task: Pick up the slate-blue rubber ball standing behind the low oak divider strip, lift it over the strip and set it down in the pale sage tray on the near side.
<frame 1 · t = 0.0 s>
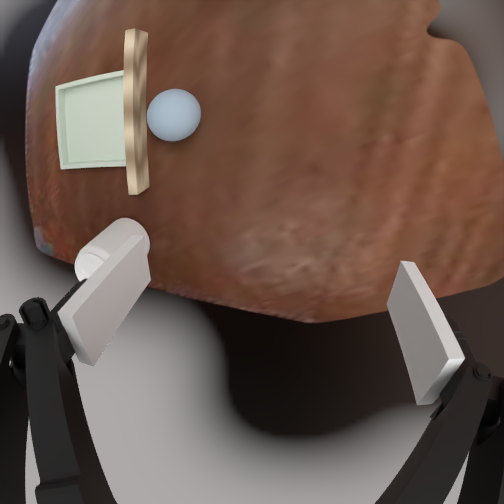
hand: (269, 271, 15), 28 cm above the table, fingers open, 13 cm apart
ball: (183, 113, 37), on the table
divider: (141, 109, 38), on the table
tray: (96, 120, 39), on the table
beverage can: (131, 237, 48), on the table
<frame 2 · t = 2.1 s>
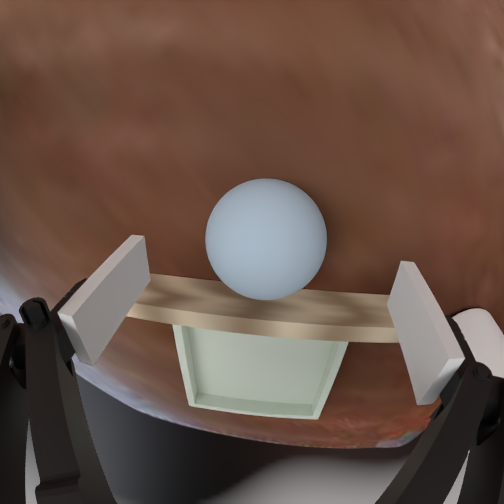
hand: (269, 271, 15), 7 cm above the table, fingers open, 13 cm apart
ball: (269, 216, 21), on the table
divider: (251, 292, 24), on the table
tray: (258, 362, 28), on the table
beverage can: (457, 334, 24), on the table
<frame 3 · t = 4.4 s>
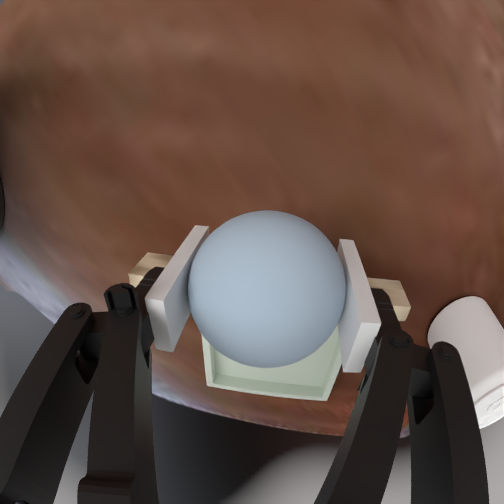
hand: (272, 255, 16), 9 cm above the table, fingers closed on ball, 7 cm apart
ball: (272, 252, 16), point 8 cm above the table, touching gripper
divider: (271, 274, 27), on the table
tray: (274, 342, 31), on the table
beverage can: (456, 321, 27), on the table
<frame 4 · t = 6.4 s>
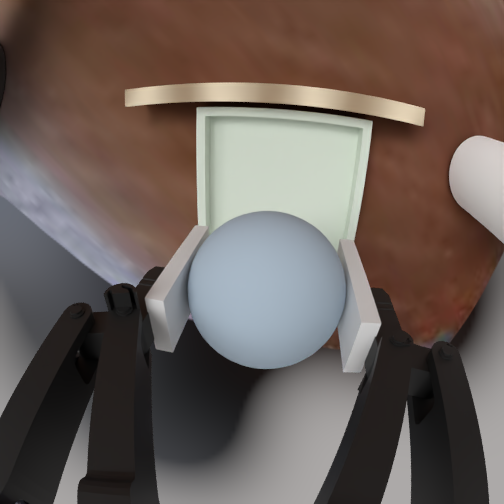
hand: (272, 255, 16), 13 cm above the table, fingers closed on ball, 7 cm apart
ball: (272, 252, 16), point 12 cm above the table, touching gripper
divider: (274, 94, 23), on the table
tray: (280, 187, 27), on the table
beverage can: (475, 172, 23), on the table
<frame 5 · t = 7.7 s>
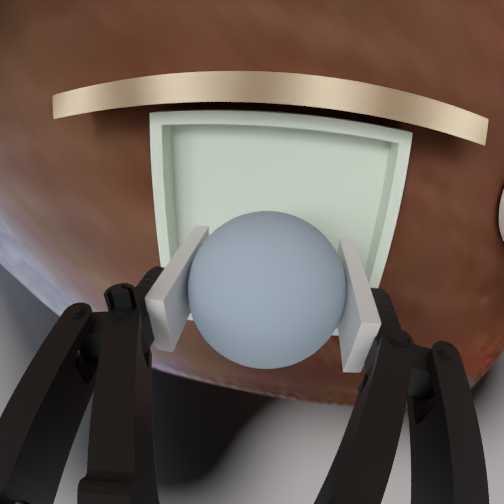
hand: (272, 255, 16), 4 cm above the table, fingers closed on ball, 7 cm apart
ball: (272, 252, 16), point 3 cm above the table, touching gripper
divider: (265, 90, 15), on the table
tray: (274, 225, 19), on the table
when the fingers open (2 cm above the table, at t = 8.6 s): ball stays where it is, resting on tray.
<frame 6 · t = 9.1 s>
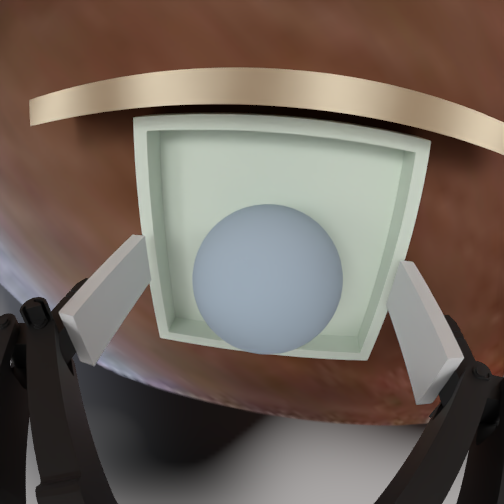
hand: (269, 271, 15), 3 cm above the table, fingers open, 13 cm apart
ball: (272, 245, 17), resting on tray
divider: (264, 90, 13), on the table
tray: (273, 242, 17), on the table
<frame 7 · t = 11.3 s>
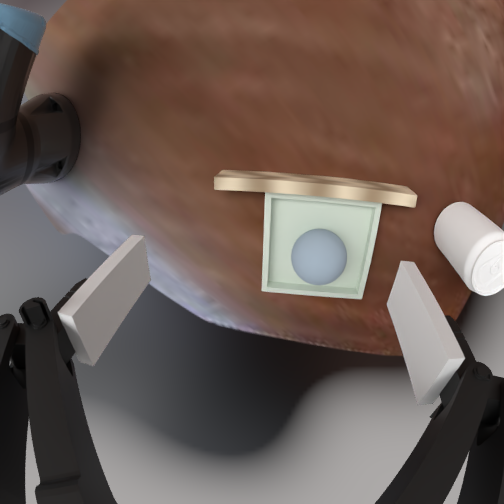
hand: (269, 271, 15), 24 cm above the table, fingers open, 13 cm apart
ball: (318, 244, 40), resting on tray
divider: (317, 181, 36), on the table
tray: (318, 243, 40), on the table
beverage can: (454, 226, 36), on the table
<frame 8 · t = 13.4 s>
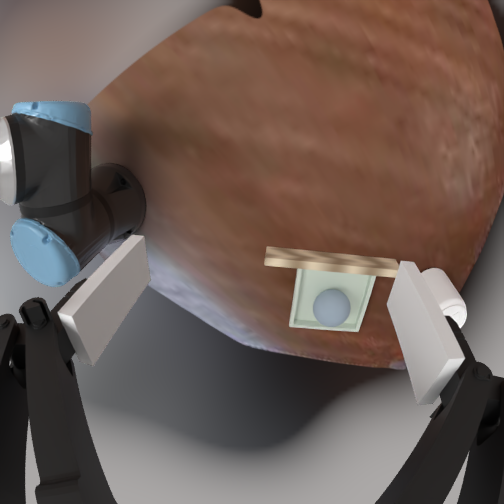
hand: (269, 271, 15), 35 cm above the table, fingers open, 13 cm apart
ball: (330, 296, 56), resting on tray
divider: (333, 256, 52), on the table
tray: (330, 295, 56), on the table
beverage can: (428, 282, 53), on the table
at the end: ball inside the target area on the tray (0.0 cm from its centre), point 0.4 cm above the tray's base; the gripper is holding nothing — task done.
